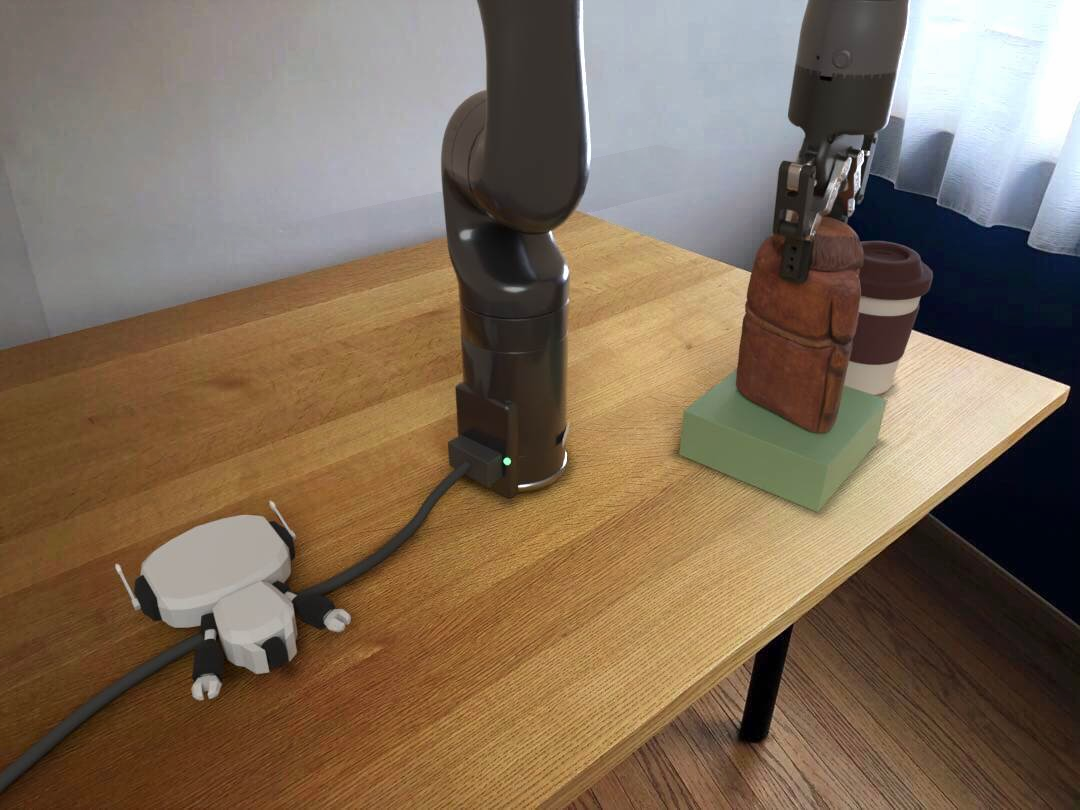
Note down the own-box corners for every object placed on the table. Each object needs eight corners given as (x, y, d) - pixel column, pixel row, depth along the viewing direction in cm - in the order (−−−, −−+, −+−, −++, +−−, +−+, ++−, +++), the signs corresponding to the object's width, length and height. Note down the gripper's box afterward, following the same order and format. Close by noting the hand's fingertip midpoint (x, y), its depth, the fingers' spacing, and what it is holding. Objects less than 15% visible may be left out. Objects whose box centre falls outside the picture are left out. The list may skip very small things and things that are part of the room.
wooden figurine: (861, 419, 78) (907, 230, 69) (818, 443, 75) (860, 247, 66) (760, 369, 86) (788, 193, 77) (716, 388, 83) (741, 206, 74)
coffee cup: (870, 414, 89) (902, 279, 81) (790, 377, 95) (813, 249, 87) (921, 384, 94) (956, 254, 86) (842, 351, 100) (868, 227, 93)
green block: (817, 512, 75) (828, 466, 72) (678, 454, 82) (683, 410, 80) (876, 443, 84) (887, 399, 81) (746, 396, 92) (753, 355, 89)
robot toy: (365, 646, 63) (274, 530, 72) (361, 603, 60) (267, 489, 69) (198, 736, 56) (122, 596, 65) (186, 693, 53) (108, 553, 63)
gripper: (837, 43, 71) (804, 235, 80) (758, 68, 62) (730, 283, 71) (929, 53, 67) (884, 254, 76) (860, 82, 58) (816, 308, 67)
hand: (810, 268), depth 73 cm, fingers closed on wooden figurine, 6 cm apart
